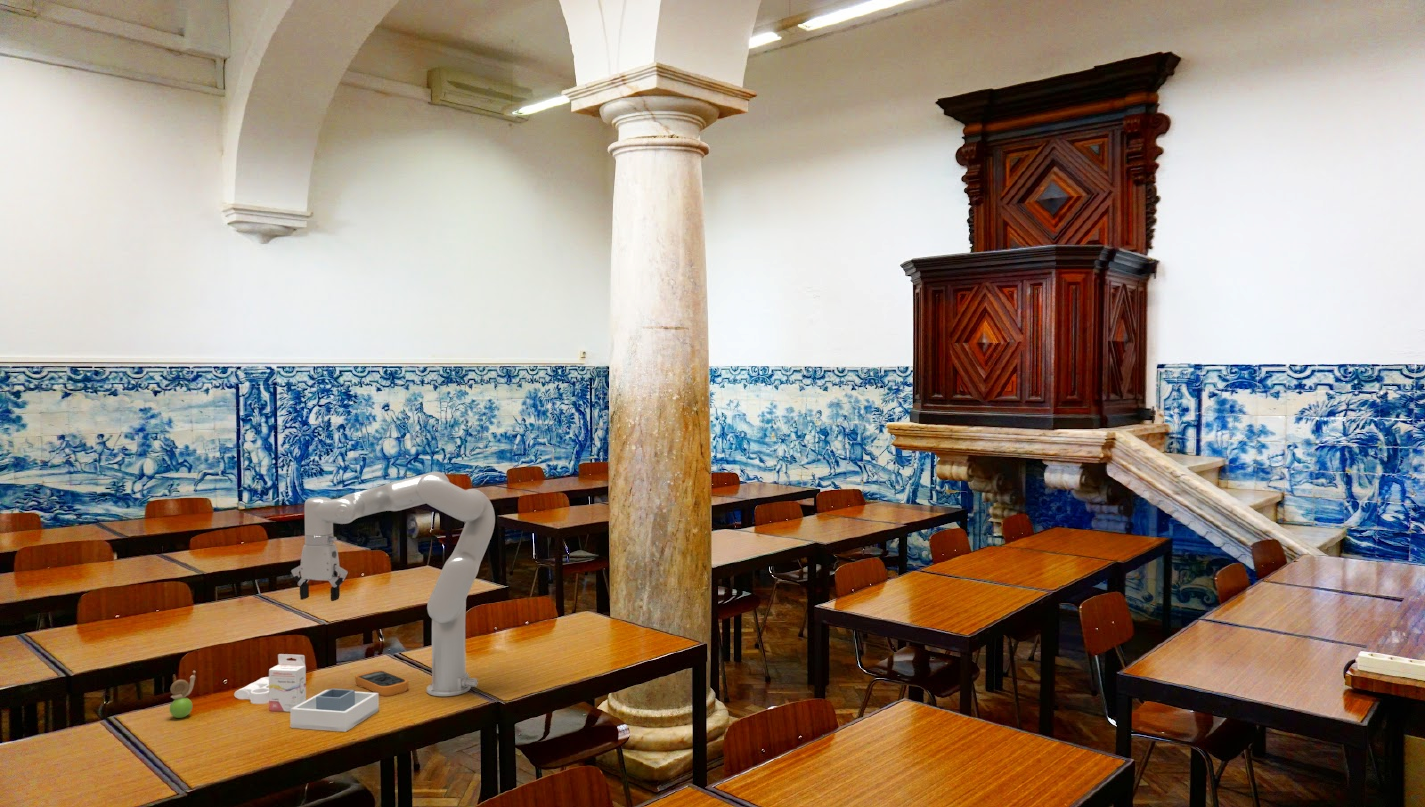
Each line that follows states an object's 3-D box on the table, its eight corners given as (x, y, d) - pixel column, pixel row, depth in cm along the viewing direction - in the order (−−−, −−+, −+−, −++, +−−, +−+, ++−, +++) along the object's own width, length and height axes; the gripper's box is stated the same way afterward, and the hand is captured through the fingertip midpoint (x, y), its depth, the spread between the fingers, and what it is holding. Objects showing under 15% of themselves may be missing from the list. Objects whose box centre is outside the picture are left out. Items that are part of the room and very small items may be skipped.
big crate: (378, 710, 261) (378, 693, 261) (345, 731, 246) (345, 712, 246) (326, 707, 264) (326, 689, 264) (290, 727, 249) (290, 708, 249)
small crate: (354, 711, 258) (354, 690, 258) (340, 720, 251) (339, 698, 251) (331, 710, 259) (331, 688, 259) (316, 719, 252) (316, 696, 252)
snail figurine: (199, 716, 258) (198, 672, 257) (173, 722, 253) (172, 678, 253) (192, 711, 261) (191, 668, 261) (166, 717, 257) (166, 673, 256)
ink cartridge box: (268, 711, 261) (267, 658, 261) (278, 705, 266) (277, 653, 266) (297, 712, 260) (296, 659, 260) (306, 706, 265) (306, 654, 265)
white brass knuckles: (265, 684, 286) (310, 685, 285) (227, 703, 269) (275, 706, 267) (265, 672, 286) (310, 674, 285) (227, 692, 269) (275, 694, 267)
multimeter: (384, 699, 272) (384, 687, 272) (353, 685, 284) (353, 674, 284) (411, 691, 279) (411, 680, 279) (380, 679, 291) (380, 668, 291)
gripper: (353, 539, 275) (354, 597, 275) (300, 537, 278) (300, 595, 278) (338, 543, 267) (339, 603, 268) (284, 541, 271) (284, 601, 271)
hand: (319, 599), depth 273 cm, fingers open, 9 cm apart
